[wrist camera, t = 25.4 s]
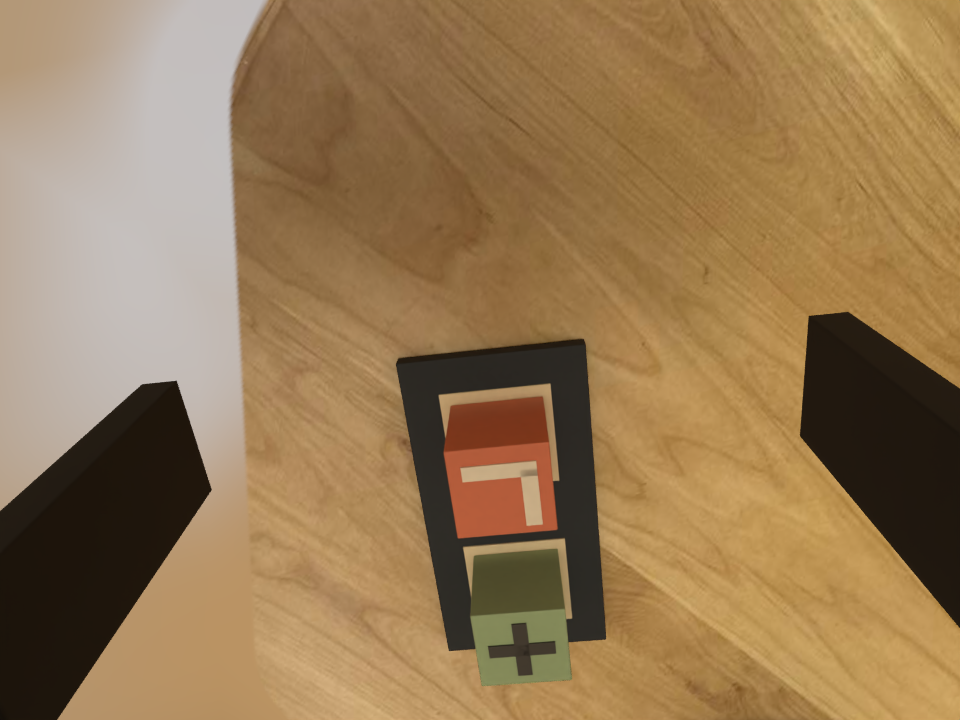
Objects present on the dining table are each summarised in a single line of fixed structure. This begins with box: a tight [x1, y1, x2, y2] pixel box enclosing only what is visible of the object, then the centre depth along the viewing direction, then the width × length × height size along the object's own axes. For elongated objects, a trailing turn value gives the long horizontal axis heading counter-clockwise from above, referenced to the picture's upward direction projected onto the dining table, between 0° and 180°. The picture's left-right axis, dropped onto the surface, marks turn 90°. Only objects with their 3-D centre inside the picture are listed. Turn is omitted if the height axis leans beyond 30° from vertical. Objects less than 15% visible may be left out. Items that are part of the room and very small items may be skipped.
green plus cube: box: [470, 549, 572, 686], centre depth 39 cm, size 5×5×5 cm
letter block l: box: [444, 397, 558, 538], centre depth 35 cm, size 5×5×5 cm
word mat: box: [396, 339, 606, 651], centre depth 40 cm, size 20×10×1 cm, turn 7°
